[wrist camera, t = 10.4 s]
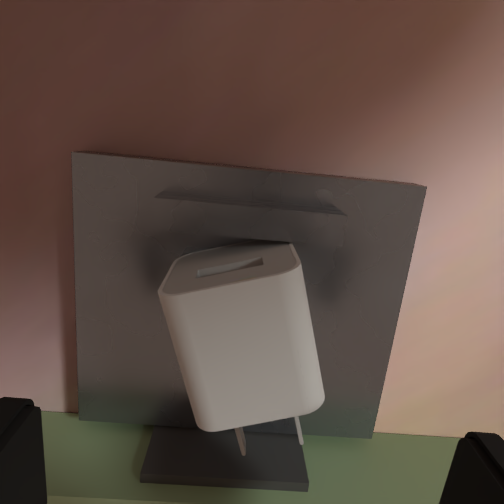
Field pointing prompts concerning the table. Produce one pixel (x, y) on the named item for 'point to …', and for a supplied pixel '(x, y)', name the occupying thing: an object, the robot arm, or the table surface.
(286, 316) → the usb wall charger
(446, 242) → the table surface
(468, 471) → the robot arm
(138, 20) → the table surface
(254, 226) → the grey plate with ledge
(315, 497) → the green slab with knob
